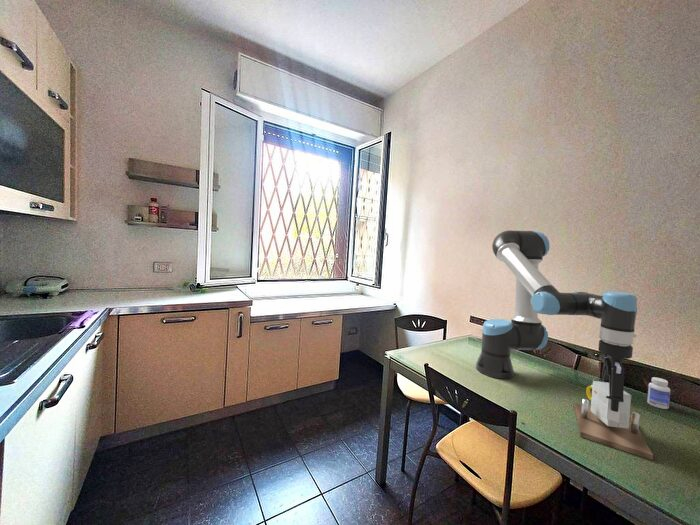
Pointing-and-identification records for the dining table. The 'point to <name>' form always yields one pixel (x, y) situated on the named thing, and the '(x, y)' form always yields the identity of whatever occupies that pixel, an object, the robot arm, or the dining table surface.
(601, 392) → the small box
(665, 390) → the pill bottle
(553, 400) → the dining table surface
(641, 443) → the pin tray
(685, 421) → the dining table surface
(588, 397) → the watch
